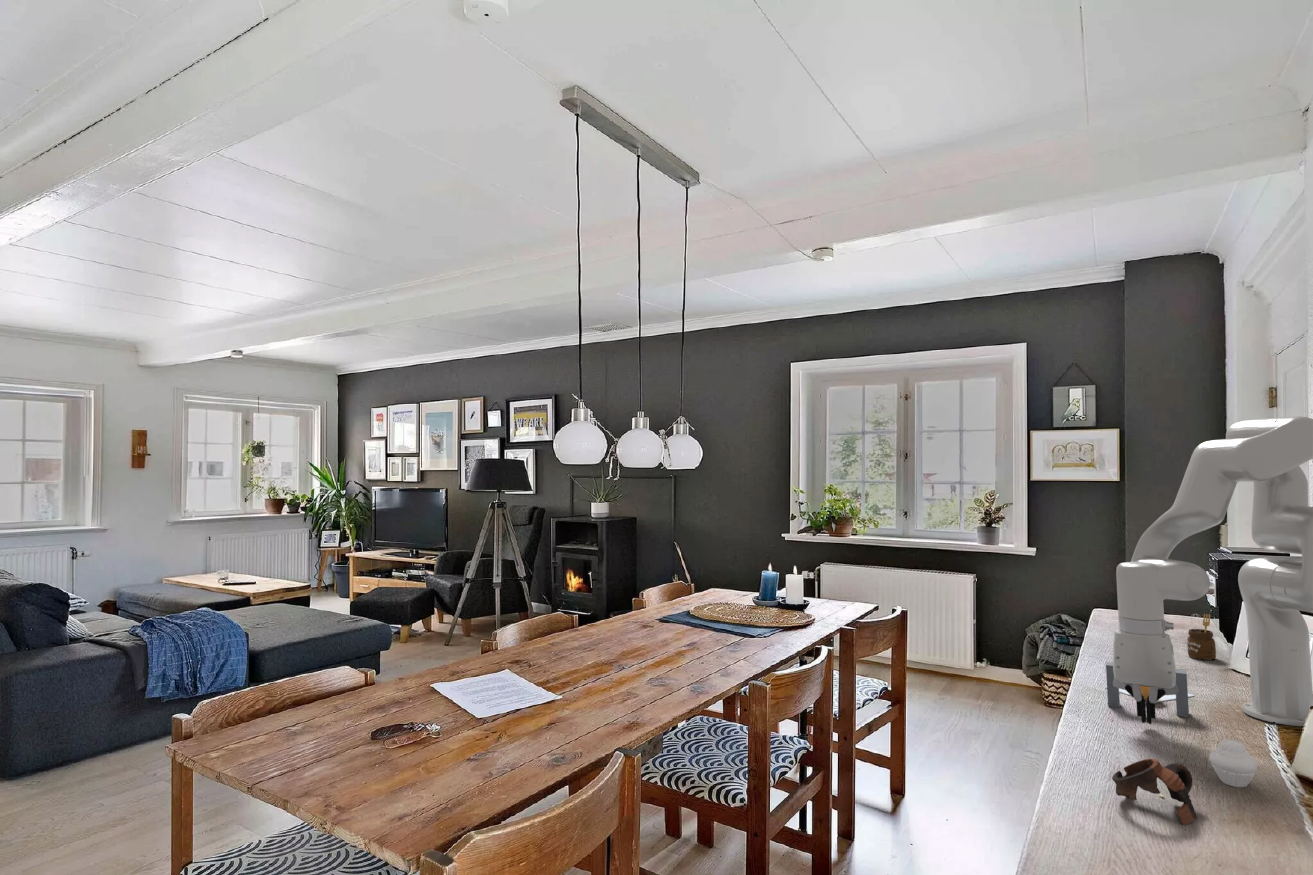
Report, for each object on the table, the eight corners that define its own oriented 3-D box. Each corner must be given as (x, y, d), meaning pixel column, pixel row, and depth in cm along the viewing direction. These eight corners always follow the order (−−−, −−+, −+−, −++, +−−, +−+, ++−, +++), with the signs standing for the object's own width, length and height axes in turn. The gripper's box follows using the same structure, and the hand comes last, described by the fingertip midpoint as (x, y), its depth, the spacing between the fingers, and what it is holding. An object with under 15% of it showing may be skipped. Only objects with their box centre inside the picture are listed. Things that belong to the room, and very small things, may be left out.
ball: (1145, 690, 156) (1145, 708, 158) (1166, 682, 156) (1166, 701, 158) (1127, 675, 161) (1128, 693, 162) (1148, 668, 161) (1148, 687, 163)
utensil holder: (1206, 655, 194) (1204, 609, 194) (1222, 661, 188) (1219, 614, 188) (1182, 655, 194) (1180, 609, 195) (1197, 661, 188) (1195, 614, 189)
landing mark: (1143, 681, 172) (1143, 680, 172) (1194, 696, 161) (1194, 695, 161) (1104, 687, 169) (1104, 686, 169) (1153, 703, 157) (1153, 702, 157)
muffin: (1251, 795, 114) (1248, 749, 114) (1204, 782, 119) (1202, 738, 119) (1264, 784, 117) (1261, 740, 118) (1218, 772, 122) (1215, 729, 123)
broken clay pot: (1180, 837, 103) (1141, 778, 106) (1127, 838, 111) (1092, 784, 114) (1227, 797, 108) (1189, 742, 111) (1173, 801, 116) (1139, 750, 119)
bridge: (1108, 702, 158) (1106, 661, 159) (1188, 713, 151) (1186, 670, 151) (1108, 706, 156) (1105, 665, 156) (1189, 717, 148) (1186, 673, 148)
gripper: (1187, 626, 142) (1193, 722, 141) (1098, 619, 151) (1103, 709, 150) (1189, 634, 136) (1195, 734, 135) (1095, 626, 144) (1100, 720, 144)
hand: (1146, 721), depth 143 cm, fingers closed
